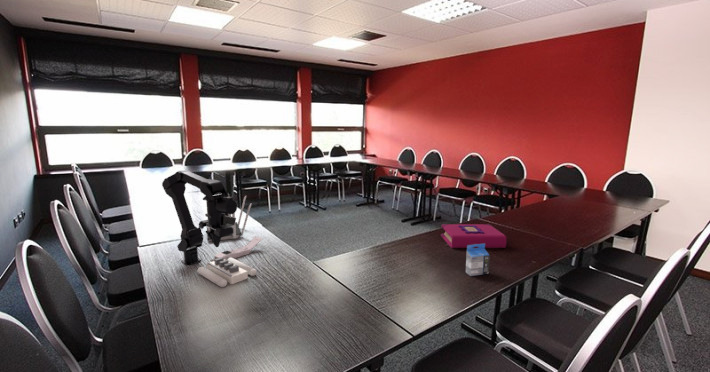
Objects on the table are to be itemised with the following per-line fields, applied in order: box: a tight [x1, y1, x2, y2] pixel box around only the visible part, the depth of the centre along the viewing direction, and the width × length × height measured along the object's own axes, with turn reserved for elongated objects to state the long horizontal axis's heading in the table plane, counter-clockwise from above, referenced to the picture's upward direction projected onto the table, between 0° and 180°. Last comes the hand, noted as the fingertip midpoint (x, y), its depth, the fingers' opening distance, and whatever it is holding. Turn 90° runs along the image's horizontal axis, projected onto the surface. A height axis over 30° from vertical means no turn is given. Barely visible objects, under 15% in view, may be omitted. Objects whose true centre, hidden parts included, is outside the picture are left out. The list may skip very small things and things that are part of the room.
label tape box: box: [465, 244, 491, 277], centre depth 140 cm, size 9×4×12 cm, turn 105°
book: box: [440, 223, 507, 249], centre depth 179 cm, size 21×28×8 cm
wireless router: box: [206, 193, 252, 242], centre depth 188 cm, size 34×23×20 cm
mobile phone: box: [210, 236, 263, 262], centre depth 159 cm, size 6×6×25 cm
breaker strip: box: [206, 257, 249, 285], centre depth 138 cm, size 20×7×5 cm, turn 49°
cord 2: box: [228, 257, 257, 277], centre depth 143 cm, size 20×3×3 cm, turn 49°
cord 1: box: [197, 266, 228, 288], centre depth 133 cm, size 20×3×3 cm, turn 49°
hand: (217, 246), depth 141 cm, fingers closed
